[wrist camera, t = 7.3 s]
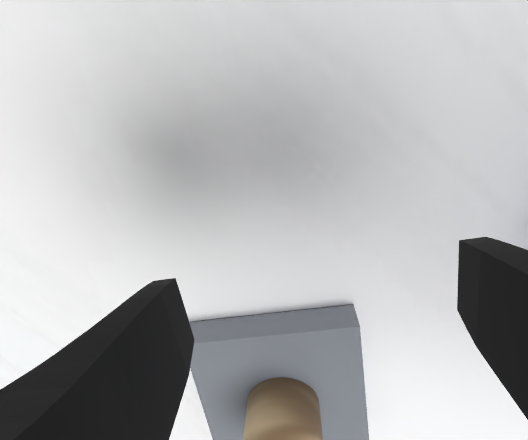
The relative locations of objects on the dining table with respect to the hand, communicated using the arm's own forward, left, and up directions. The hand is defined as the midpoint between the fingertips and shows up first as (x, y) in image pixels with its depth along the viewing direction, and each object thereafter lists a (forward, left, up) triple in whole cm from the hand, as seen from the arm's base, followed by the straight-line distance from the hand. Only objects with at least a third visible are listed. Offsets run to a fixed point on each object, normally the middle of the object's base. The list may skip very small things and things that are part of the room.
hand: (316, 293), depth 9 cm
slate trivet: (+3, +13, -10) cm, 17 cm away
